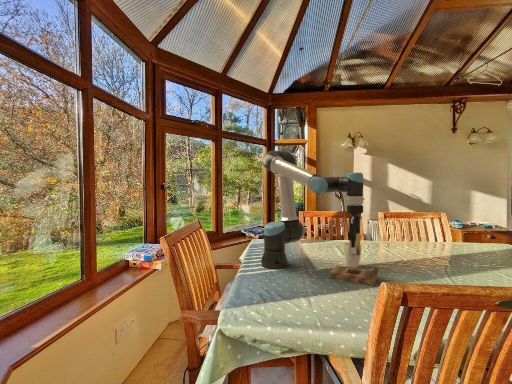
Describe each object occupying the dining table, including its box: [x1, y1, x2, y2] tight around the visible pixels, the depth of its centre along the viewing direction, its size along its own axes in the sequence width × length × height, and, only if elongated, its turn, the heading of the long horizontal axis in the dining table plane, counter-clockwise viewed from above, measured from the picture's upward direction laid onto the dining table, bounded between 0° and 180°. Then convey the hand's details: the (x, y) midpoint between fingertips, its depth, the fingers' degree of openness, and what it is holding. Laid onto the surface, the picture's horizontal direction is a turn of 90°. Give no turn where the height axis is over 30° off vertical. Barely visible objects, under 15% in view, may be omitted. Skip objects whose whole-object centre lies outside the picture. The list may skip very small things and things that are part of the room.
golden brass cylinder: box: [348, 232, 361, 255], centre depth 139 cm, size 5×5×10 cm
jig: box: [329, 265, 379, 287], centre depth 140 cm, size 20×12×5 cm, turn 59°
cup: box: [343, 242, 362, 268], centre depth 159 cm, size 9×9×12 cm
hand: (354, 252), depth 139 cm, fingers closed on golden brass cylinder, 5 cm apart
